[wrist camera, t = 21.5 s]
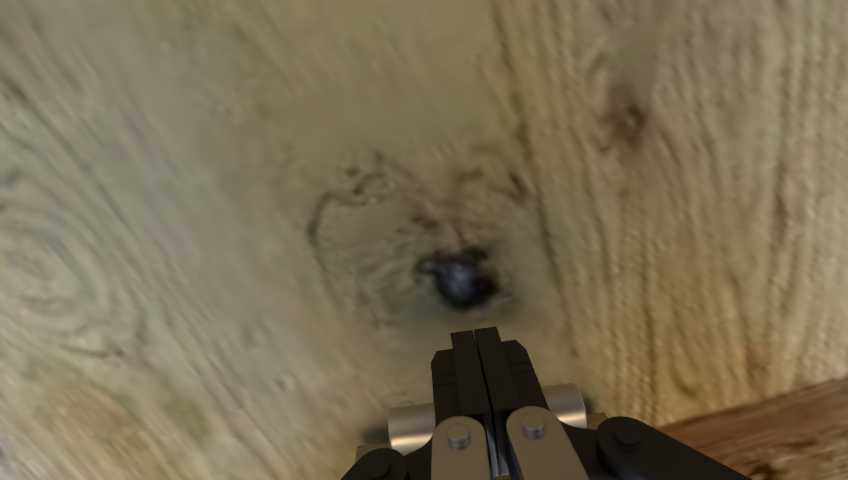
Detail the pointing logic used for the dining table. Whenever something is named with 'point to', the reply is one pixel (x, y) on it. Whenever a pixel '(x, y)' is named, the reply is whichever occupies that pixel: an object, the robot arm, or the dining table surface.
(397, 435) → the wooden drawer
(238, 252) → the dining table surface
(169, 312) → the dining table surface
